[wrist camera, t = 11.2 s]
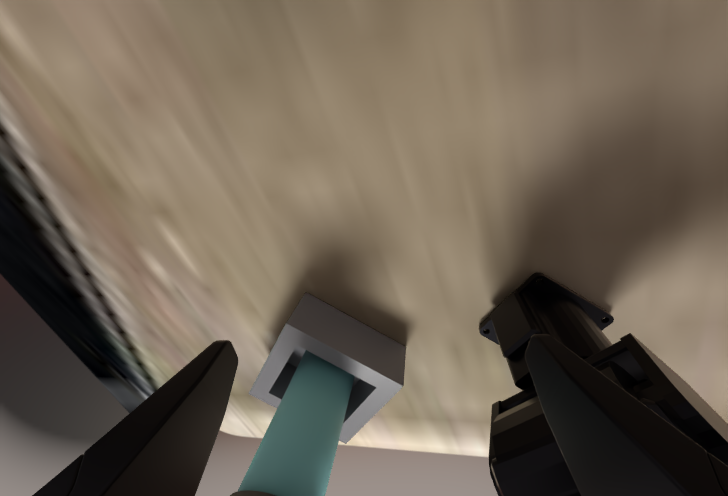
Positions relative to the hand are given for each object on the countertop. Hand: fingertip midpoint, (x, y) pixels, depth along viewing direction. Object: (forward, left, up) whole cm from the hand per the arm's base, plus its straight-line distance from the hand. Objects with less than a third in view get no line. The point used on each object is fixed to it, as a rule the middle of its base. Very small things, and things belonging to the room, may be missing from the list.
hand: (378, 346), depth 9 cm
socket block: (-2, +15, -13) cm, 20 cm away
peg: (-2, +15, -12) cm, 20 cm away
